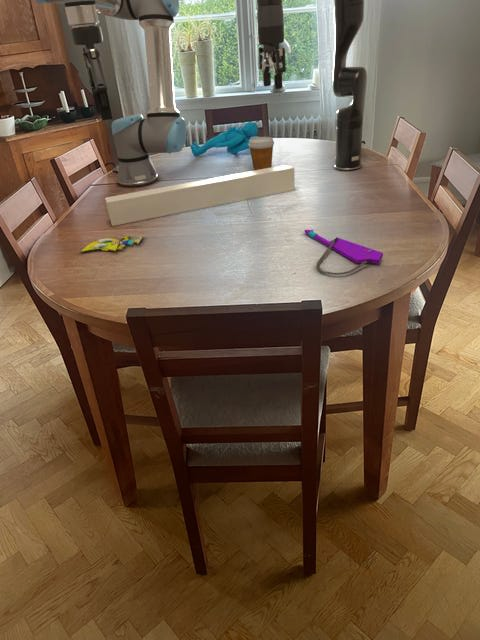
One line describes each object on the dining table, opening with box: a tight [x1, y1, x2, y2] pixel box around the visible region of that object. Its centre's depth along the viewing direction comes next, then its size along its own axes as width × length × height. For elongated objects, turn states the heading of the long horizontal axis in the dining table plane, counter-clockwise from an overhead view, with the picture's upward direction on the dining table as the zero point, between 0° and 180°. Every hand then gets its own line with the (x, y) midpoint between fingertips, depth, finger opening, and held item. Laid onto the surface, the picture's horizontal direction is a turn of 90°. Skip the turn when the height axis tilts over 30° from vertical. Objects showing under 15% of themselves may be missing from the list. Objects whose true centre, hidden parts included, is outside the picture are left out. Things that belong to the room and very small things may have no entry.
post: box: [104, 163, 296, 227], centre depth 154 cm, size 61×5×8 cm, turn 110°
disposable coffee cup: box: [248, 136, 275, 171], centre depth 177 cm, size 10×10×12 cm
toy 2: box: [189, 121, 259, 157], centre depth 206 cm, size 17×11×30 cm
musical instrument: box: [304, 229, 384, 276], centre depth 117 cm, size 24×2×20 cm
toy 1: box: [80, 235, 144, 254], centre depth 133 cm, size 10×1×15 cm
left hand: (104, 115), depth 133 cm, fingers open, 13 cm apart
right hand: (272, 87), depth 145 cm, fingers open, 8 cm apart
